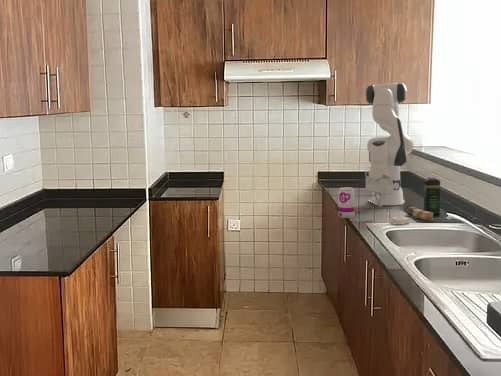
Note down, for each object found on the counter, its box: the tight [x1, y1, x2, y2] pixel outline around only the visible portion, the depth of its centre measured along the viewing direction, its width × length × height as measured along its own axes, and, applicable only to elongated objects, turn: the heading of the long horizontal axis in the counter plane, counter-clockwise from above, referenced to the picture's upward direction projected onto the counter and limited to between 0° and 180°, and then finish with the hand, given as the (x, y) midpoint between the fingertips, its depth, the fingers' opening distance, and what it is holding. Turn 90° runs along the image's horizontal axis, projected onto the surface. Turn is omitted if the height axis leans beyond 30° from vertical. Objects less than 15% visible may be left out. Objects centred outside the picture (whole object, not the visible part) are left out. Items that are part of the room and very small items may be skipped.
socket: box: [390, 216, 410, 225], centre depth 275 cm, size 6×6×2 cm
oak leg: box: [407, 206, 434, 219], centre depth 288 cm, size 17×4×3 cm, turn 19°
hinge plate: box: [405, 213, 435, 221], centre depth 289 cm, size 18×6×1 cm, turn 20°
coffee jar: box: [423, 177, 441, 216], centre depth 297 cm, size 10×8×19 cm
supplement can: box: [337, 186, 356, 219], centre depth 297 cm, size 8×8×15 cm
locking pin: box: [376, 193, 383, 208], centre depth 290 cm, size 3×3×7 cm
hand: (379, 201), depth 290 cm, fingers closed on locking pin, 3 cm apart
